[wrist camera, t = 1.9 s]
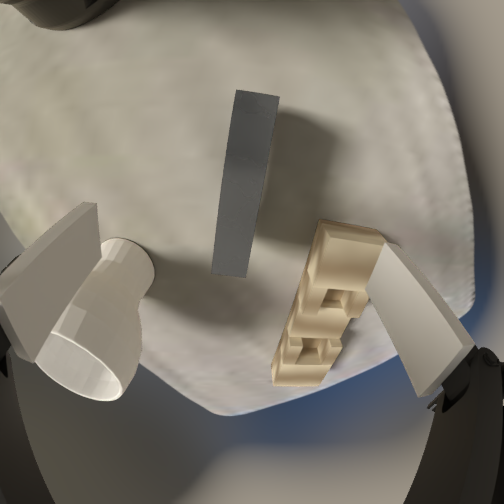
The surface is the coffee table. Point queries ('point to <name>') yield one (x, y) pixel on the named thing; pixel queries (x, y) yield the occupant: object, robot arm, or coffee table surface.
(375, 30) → the coffee table surface
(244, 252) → the grey block
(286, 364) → the rail
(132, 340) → the cup
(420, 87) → the coffee table surface
